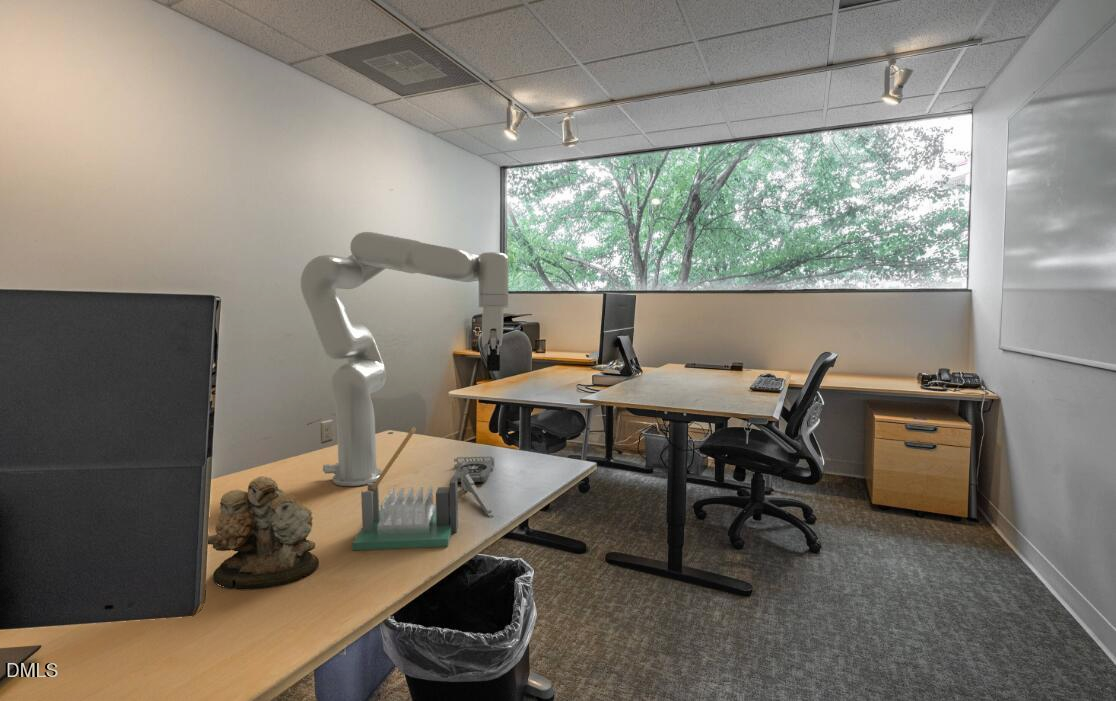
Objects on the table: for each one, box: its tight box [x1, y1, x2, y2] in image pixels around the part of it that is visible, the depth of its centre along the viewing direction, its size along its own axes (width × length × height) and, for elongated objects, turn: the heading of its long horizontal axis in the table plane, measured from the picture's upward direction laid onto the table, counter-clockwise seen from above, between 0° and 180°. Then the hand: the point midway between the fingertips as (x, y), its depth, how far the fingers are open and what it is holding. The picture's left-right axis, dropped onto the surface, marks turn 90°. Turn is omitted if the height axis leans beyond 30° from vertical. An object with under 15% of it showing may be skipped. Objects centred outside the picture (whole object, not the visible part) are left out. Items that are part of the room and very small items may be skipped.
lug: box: [435, 476, 459, 534], centre depth 110 cm, size 4×4×10 cm
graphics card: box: [452, 456, 496, 483], centre depth 145 cm, size 17×4×12 cm
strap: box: [369, 426, 418, 494], centre depth 108 cm, size 17×3×1 cm
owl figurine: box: [207, 476, 320, 590], centre depth 92 cm, size 18×12×17 cm, turn 99°
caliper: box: [460, 467, 494, 518], centre depth 126 cm, size 20×1×6 cm, turn 28°
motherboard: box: [351, 482, 452, 551], centre depth 109 cm, size 18×16×10 cm
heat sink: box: [377, 486, 436, 535], centre depth 110 cm, size 10×10×6 cm
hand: (493, 368), depth 136 cm, fingers open, 9 cm apart
